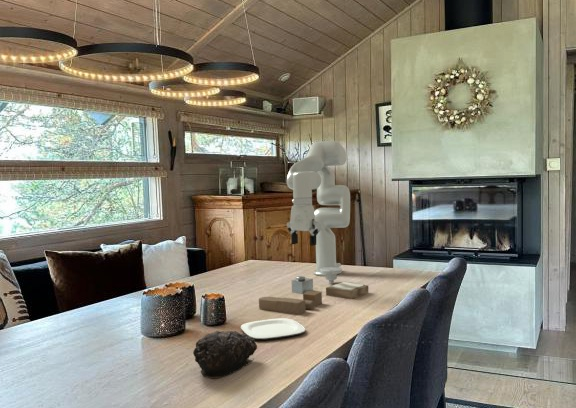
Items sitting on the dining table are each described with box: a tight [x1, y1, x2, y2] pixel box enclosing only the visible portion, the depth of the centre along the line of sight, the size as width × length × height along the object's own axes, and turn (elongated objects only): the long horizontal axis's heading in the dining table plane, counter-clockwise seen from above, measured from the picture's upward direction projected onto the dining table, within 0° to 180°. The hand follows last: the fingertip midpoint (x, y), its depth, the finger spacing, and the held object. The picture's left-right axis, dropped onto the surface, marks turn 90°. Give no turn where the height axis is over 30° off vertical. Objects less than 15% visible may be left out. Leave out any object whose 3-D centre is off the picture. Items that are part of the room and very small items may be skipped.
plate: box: [240, 317, 306, 340], centre depth 158 cm, size 18×18×2 cm
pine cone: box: [192, 330, 258, 379], centre depth 129 cm, size 10×18×10 cm, turn 149°
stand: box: [325, 281, 369, 300], centre depth 203 cm, size 12×12×3 cm
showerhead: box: [320, 267, 343, 285], centre depth 224 cm, size 9×7×10 cm
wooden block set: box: [258, 290, 323, 316], centre depth 187 cm, size 17×6×18 cm
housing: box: [291, 275, 314, 295], centre depth 210 cm, size 7×6×6 cm
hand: (303, 244), depth 208 cm, fingers open, 9 cm apart
